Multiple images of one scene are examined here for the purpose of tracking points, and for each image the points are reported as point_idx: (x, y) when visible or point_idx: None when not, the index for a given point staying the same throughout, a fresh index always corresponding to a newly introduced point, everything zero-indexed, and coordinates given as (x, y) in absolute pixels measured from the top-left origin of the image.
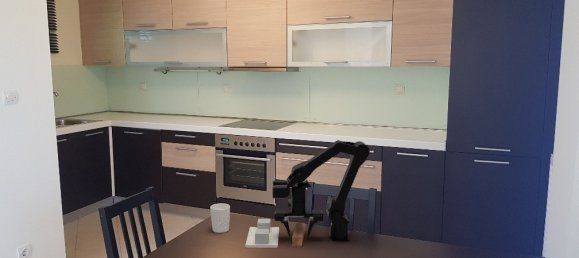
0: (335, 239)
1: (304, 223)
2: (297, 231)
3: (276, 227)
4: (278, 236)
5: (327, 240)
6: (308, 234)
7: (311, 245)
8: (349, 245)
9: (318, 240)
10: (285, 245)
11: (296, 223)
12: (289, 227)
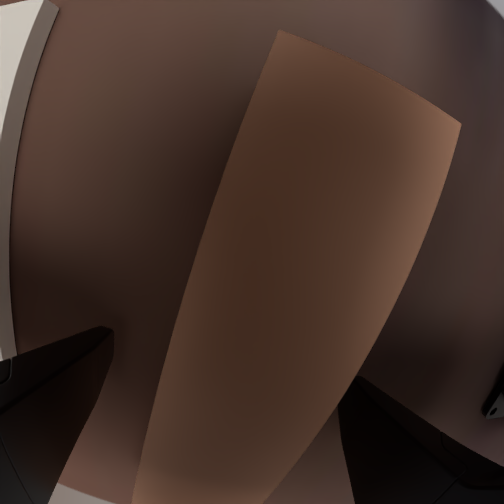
0: (498, 416)
1: (450, 153)
2: (194, 478)
3: (16, 12)
4: (3, 255)
5: (463, 404)
6: (349, 430)
7: (306, 476)
8: (497, 450)
9: (409, 406)
10: (85, 436)
11: (271, 87)
12: (53, 401)
